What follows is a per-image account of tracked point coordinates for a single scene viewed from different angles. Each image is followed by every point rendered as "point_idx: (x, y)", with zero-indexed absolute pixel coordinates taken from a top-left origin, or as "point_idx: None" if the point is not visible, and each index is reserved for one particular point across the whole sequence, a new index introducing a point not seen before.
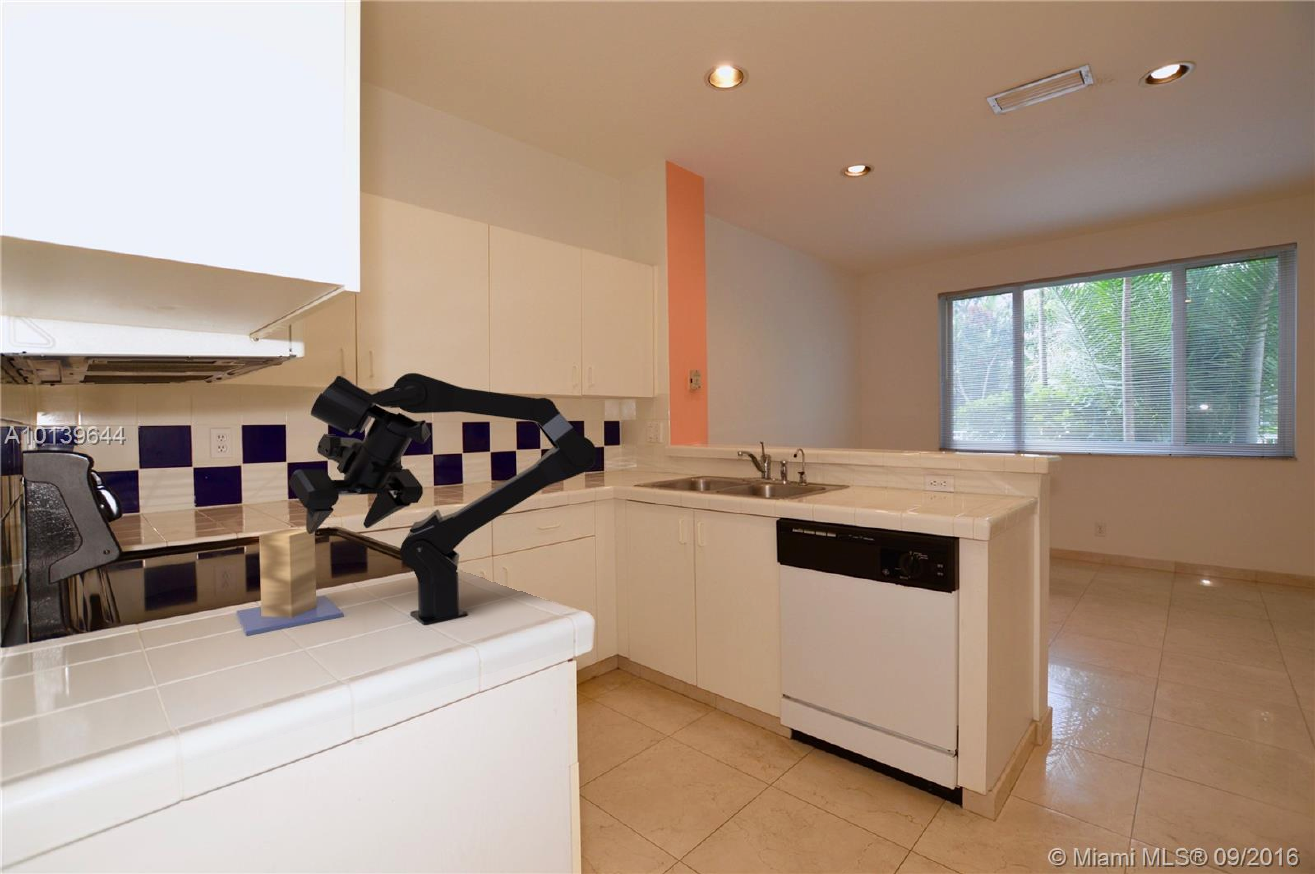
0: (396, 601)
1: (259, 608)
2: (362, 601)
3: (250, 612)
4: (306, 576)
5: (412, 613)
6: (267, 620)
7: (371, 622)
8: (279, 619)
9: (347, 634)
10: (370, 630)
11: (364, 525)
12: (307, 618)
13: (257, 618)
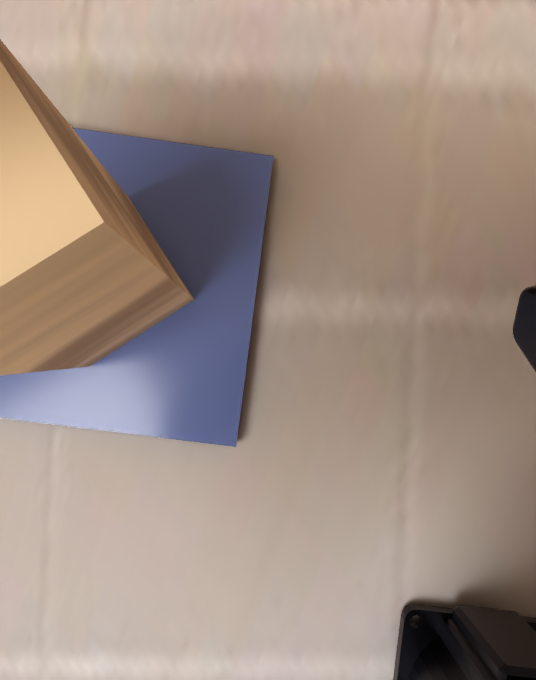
0: (445, 388)
1: None
2: (360, 288)
3: None
4: (119, 316)
5: (404, 635)
6: None
7: (284, 566)
8: None
9: (182, 629)
10: (248, 647)
11: (520, 311)
12: (125, 420)
13: None
